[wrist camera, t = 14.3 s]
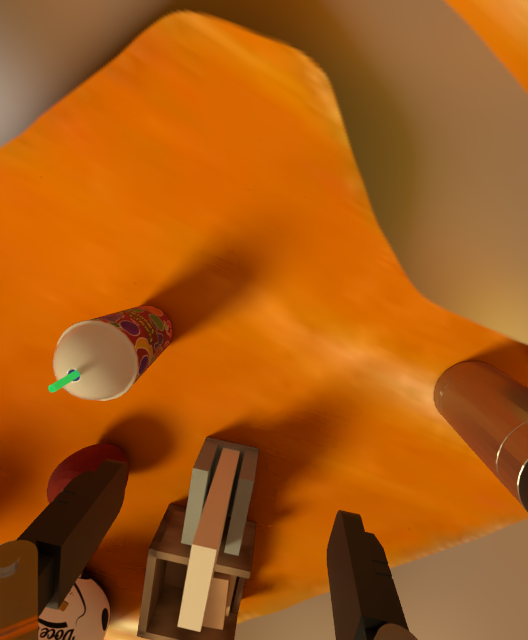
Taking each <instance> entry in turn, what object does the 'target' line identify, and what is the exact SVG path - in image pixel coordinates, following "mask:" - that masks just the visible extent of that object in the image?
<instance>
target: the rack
mask: <svg viewBox="0 0 528 640" xmlns="http://www.w3.org/2000/svg"><path fill="white" fill-rule="evenodd" d="M186 509H187V508H186V507H182V506H177V505H173V504H169V506H168V508H167V510H166V513H165V515H164V517H163V519H162V521H161V523H160V526H159V528H158V530H157V532H156V534H155V536H154V539H153V541H152V543H151V545H150V547H149V551H148V558H147V566H146V573H145V581H144V588H143V595H142V603H141V610H140V618H139V625H138V633H137V636H138V637H142V638H146V639H151V640H234V636H235V630H236V623H237V615H238V611H239V606H240V602H241V597H242V593H243V588H244V584H245V580H246V578H247V579H249V577H250V573H251V565H252V557H253V548H254V540H255V531H256V523H254V522H250V521H246V523H245V528H244V532H243V537H242V542H241V546H240V551H239V556H237V555H232V554H228V553H224V550H225V545H226V540H227V535H228V530H229V525H230V520H231V517H227V518H226V522H225V526H224V531H223V535H222V539H221V544H220V548H219V553H218V557H217V561H216V566H215V570H214V571H216V572H221V573H225V574H229V575H234V576H237V577H236V582H235V587H234V591H233V596H232V600H231V605H230V610H229V614H228V616H225V620H224V626H223V630H221V629H215V628H210V627H204V626H202V627H201V631H200V632H198V631H194V630H190V629H185V628H181V627H177V626H178V621H179V615H180V609H181V604H182V598H183V592H184V587H185V581H186V576H187V570H188V564H189V559H190V553H191V547H192V545H188V544H183V543H181V540H182V534H183V528H184V521H185V515H186Z"/></svg>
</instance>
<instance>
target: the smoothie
mask: <svg viewBox="0 0 528 640" xmlns="http://www.w3.org/2000/svg"><path fill="white" fill-rule="evenodd" d="M171 338H172V325H171V323H170V320H169V319H168V317H167V316H166V315H165V313H164V312H162V311H161V310H159V309H158V308H155V307H153V306H144V305H142V306H138V307H135V308H131V309H127V310H124V311H120V312H117V313H113V314H109V315H106V316H102V317H98V318H95V319H91V320H85V321H82V322H78V323H75V324H73V325H72V326H70V327H69V328H68V329H66V330H65V331H64V332H63V334H62V335H61V337H60V339H59V340H58V343H57V347H56V349H55V353H54V357H53V371H54V374H55V377H56V379H57V381H56V382H55V383H53V384H51V385H50V386H49V387H48V389H49V391H50V392H55V391H57V390H58V389H60V388H62V387H63V389H65V390H66V391H67V392H69V393H70V394H71V395H73V396H76V397H79V398H82V399H88V400H102V401H107V400H111V399H115V398H118V397H120V396H121V395H123V394H124V393H126V392H128V390H129V389H130V387H131V386H132V385H133V384H134V383H135V382H136V381H137V379H138V378H139V377H140V376H141V375H142V374H143V373H144V372H145V371H146V370H147V368H148V367H149V366H150V365H151V364H152V363H153V362H154V361H155V360H156V359H157V357H158V356H159V355H160V354H161V353H162V352H163V351H164V350H165V349H166V348H167V346H168V345H169V343H170V342H171Z"/></svg>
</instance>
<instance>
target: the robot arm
mask: <svg viewBox="0 0 528 640" xmlns="http://www.w3.org/2000/svg"><path fill="white" fill-rule="evenodd" d="M434 402H435V406H436V408H437V409H438V411H439V412H440V414H441V415H442V416H443V417H444V418H445V419H446V420H447V422H448V423H449V424H450V425H451V426H452V427H453V429H454V430H455V431H456V432H457V433H458V434H459V435H460V436H461V438H462V439H463V440H464V441H465V442H466V443H467V444H468V445H469V447H470V448H471V449H472V450H473V451H474V452H475V453H476V454H477V456H478V457H479V458H480V459H481V460H482V461H483V462H484V463H485V465H486V466H487V467H488V468H489V469H490V470H491V471H492V472H493V474H494V475H495V476H496V477H497V478H498V479H499V480H500V481H501V483H502V484H503V485H504V486H505V487H506V488H507V489H508V490H509V491H510V493H511V494H512V495H513V496H514V497H515V498H516V499H517V500H518V501H519V503H520V504H521V505H522V506H523V507H524V508H525V509H526V510H527V512H528V388H527V387H526V386H524V385H522V384H521V383H519V382H517V381H516V380H514V379H512V378H511V377H509V376H508V375H506V374H504V373H503V372H501V371H499V370H498V369H496V368H494V367H493V366H491V365H489V364H486V363H484V362H479V361H467V362H462V363H459V364H457V365H454V366H453V367H451V368H449V369H448V370H447V371H445V372H444V373H443V374H442V375H441V377H440V378H439V379H438V381H437V383H436V386H435V389H434ZM126 476H127V463H125V462H120V461H116V460H111V459H106V460H104V461H103V463H102V464H101V465H100V466H99V467H98V468H97V470H96V471H95V472H93V471H89V470H87V471H85V472H83V473H82V474H80V475H78V476H76V477H75V478H73V479H72V480H71V481H70V482H69V483H68V484H67V485H66V487H65V488H64V489H63V490H62V492H60V493H59V494H58V495H57V496H56V497H55V499H54V500H53V502H51V503H50V504H49V505H48V506H47V507H46V508H45V509H44V510H43V512H42V513H41V514H40V515H39V516H38V517H37V518H36V519H35V520H34V521H33V522H32V524H31V525H30V526H29V527H28V528H27V529H26V530H25V531H24V532H23V533H22V534H21V535H20V537H19V538H18V539H17V540H14V541H10V542H7V543H4V544H1V545H0V640H38V618H39V616H40V615H41V613H42V612H43V610H44V609H45V607H47V608H51V609H56V610H58V609H59V607H60V606H61V604H62V603H63V601H64V599H65V598H66V596H67V595H68V593H69V591H70V590H71V588H72V587H73V585H74V584H75V582H76V580H77V579H78V577H79V576H80V574H81V572H82V571H83V569H84V568H85V566H86V565H87V563H88V561H89V560H90V558H91V557H92V555H93V553H94V552H95V550H96V549H97V547H98V546H99V544H100V542H101V541H102V539H103V538H104V536H105V534H106V533H107V531H108V530H109V528H110V527H111V525H112V523H113V522H114V520H115V519H116V517H117V515H118V513H119V511H120V509H121V507H122V504H123V500H124V494H125V485H126ZM327 567H328V576H329V584H330V593H331V601H332V609H333V618H334V626H335V635H336V640H418V639H417V638H416V637H415V636H414V635H413V634H411V632H409V629H408V627H407V623H406V620H405V617H404V613H403V611H402V607H401V604H400V600H399V597H398V594H397V591H396V588H395V584H394V581H393V579H392V575H391V571H390V568H389V566H388V562H387V558H386V555H385V552H384V549H383V547H382V545H381V544H380V543H379V541H378V540H377V538H376V537H375V535H374V534H372V533H367V532H365V530H364V527H363V523H362V519H361V516H360V515H359V514H355V513H351V512H346V511H341V510H339V511H338V512H337V515H336V518H335V522H334V525H333V529H332V532H331V536H330V539H329V543H328V548H327Z"/></svg>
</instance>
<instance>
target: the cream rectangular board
mask: <svg viewBox="0 0 528 640" xmlns="http://www.w3.org/2000/svg"><path fill="white" fill-rule="evenodd" d="M239 454H240V451H236V450H232V449H227V448H223V450H222V453H221V456H220V459H219V462H218V465H217V468H216V472H215V475H214V478H213V481H212V484H211V487H210V490H209V493H208V496H207V499H206V503H205V506H204V509H203V512H202V515H201V518H200V521H199V524H198V527H197V530H196V534H195V537H194V540H193V543H192V547H191V553H190V559H189V564H188V570H187V576H186V581H185V587H184V592H183V598H182V604H181V609H180V615H179V621H178V626H177V627H181V628H185V629H190V630H194V631H198V632H200V631H201V627H202V623H203V618H204V614H205V609H206V605H207V601H208V596H209V592H210V588H211V583H212V579H213V574H214V570H215V566H216V561H217V557H218V553H219V548H220V544H221V539H222V535H223V531H224V526H225V522H226V518H227V513H228V508H229V503H230V498H231V493H232V488H233V484H234V479H235V474H236V469H237V464H238V459H239Z"/></svg>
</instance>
